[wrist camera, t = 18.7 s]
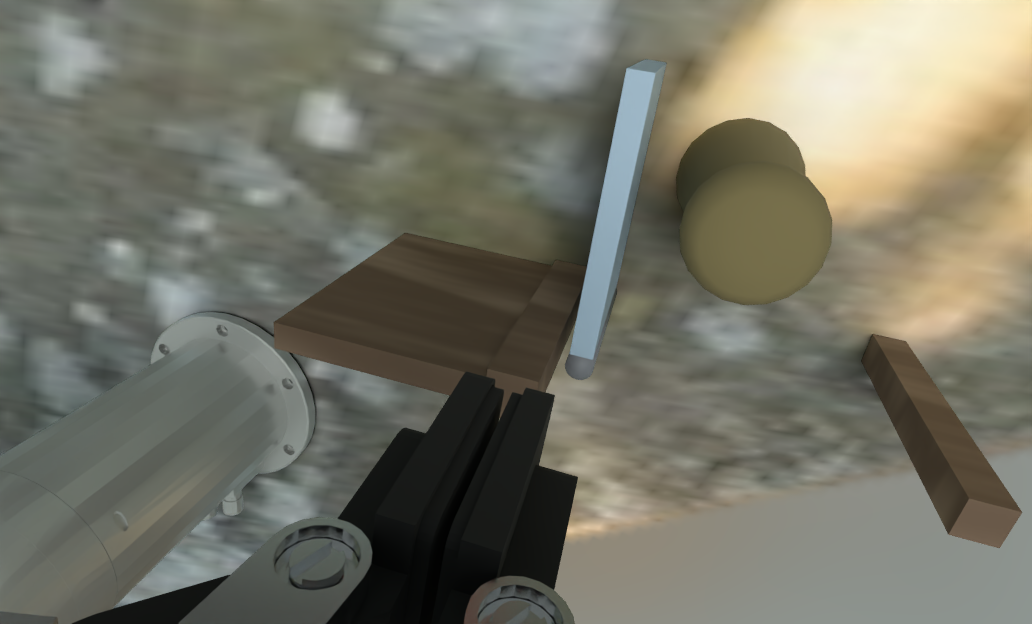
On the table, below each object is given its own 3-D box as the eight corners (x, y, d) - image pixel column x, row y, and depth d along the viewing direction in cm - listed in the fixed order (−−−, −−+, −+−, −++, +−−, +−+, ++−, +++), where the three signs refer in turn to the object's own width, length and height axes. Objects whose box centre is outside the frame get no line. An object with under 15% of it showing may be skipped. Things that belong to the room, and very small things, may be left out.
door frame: (892, 371, 33) (996, 552, 22) (403, 258, 38) (274, 356, 26) (907, 338, 32) (1025, 507, 21) (405, 226, 37) (273, 313, 25)
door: (668, 63, 30) (658, 73, 22) (614, 303, 35) (590, 382, 27) (643, 58, 30) (623, 67, 22) (593, 298, 35) (562, 375, 27)
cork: (656, 214, 33) (638, 290, 23) (708, 99, 30) (711, 130, 20) (767, 258, 32) (796, 355, 23) (830, 145, 30) (894, 200, 20)
